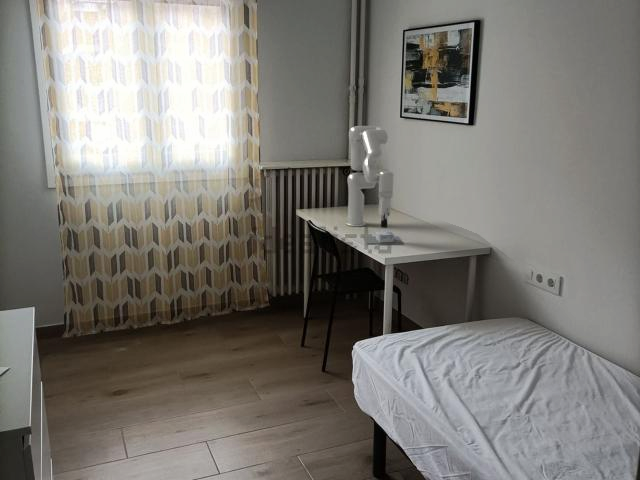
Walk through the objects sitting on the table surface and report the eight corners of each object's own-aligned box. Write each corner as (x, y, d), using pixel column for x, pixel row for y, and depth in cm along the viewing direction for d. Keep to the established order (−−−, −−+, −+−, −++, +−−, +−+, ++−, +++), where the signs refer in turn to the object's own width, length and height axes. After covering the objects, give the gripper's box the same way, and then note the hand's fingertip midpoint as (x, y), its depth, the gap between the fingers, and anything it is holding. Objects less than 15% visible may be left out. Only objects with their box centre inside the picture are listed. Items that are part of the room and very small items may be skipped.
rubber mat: (363, 237, 337) (363, 236, 337) (398, 237, 339) (398, 236, 338) (367, 244, 323) (367, 243, 322) (404, 244, 324) (404, 243, 324)
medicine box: (375, 238, 332) (379, 243, 324) (376, 231, 331) (379, 234, 323) (389, 238, 333) (393, 242, 325) (390, 230, 332) (394, 234, 324)
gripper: (376, 191, 331) (374, 224, 335) (381, 196, 316) (379, 230, 321) (389, 191, 331) (388, 224, 336) (395, 196, 317) (393, 230, 321)
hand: (384, 227), depth 328 cm, fingers closed
